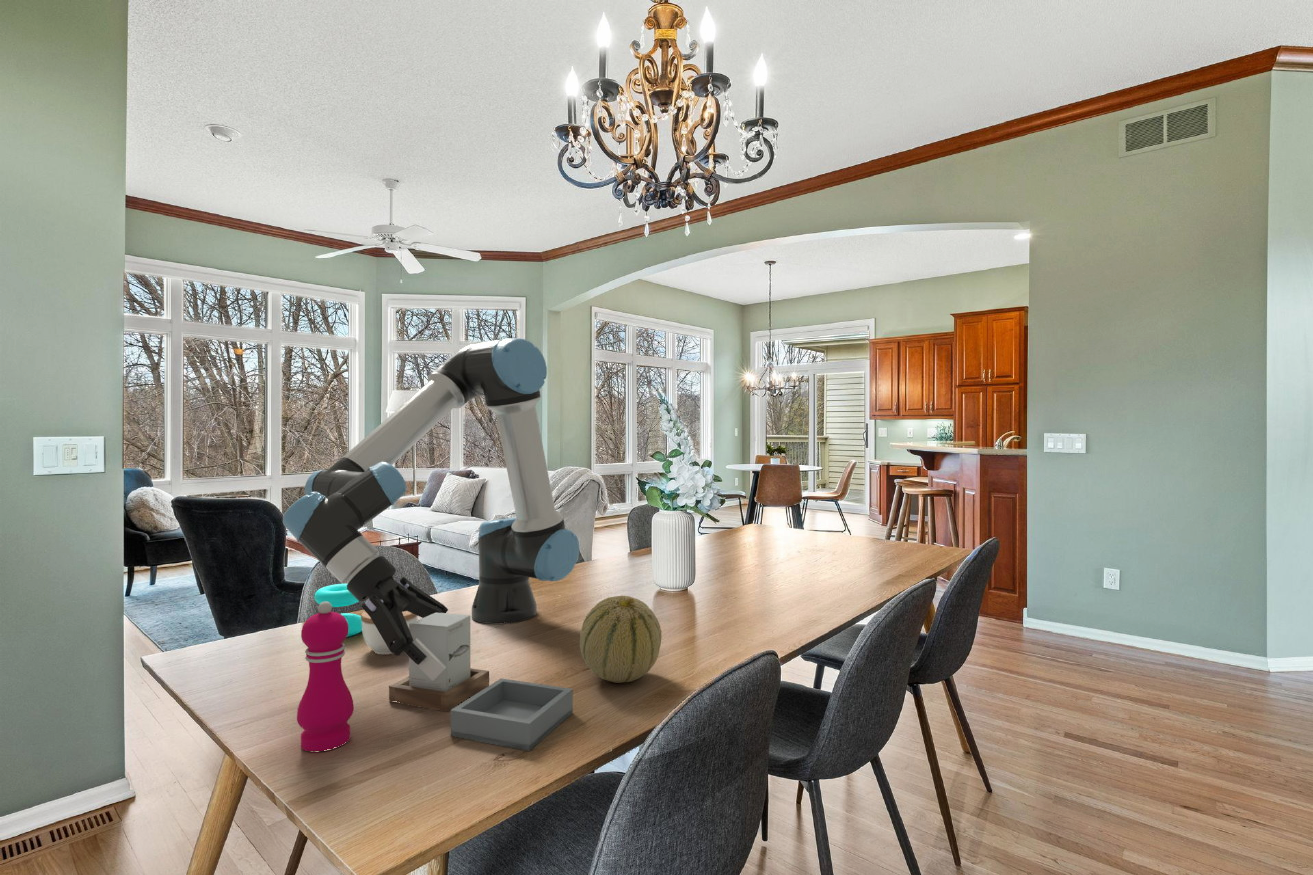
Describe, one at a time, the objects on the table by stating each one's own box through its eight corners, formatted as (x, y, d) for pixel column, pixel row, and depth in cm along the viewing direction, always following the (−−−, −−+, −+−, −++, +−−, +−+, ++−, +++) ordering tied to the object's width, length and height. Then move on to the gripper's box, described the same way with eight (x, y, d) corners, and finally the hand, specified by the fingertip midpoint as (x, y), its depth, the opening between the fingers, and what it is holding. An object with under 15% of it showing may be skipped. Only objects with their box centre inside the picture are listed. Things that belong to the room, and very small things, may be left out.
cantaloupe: (609, 659, 128) (609, 581, 127) (676, 673, 120) (676, 591, 120) (561, 685, 115) (561, 598, 115) (633, 702, 107) (632, 610, 107)
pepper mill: (310, 731, 97) (309, 595, 97) (361, 729, 98) (360, 594, 98) (287, 755, 90) (286, 609, 90) (342, 753, 91) (341, 607, 90)
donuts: (317, 584, 147) (366, 580, 151) (318, 628, 148) (366, 624, 151) (311, 594, 138) (363, 590, 141) (311, 642, 138) (363, 637, 142)
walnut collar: (434, 676, 119) (434, 662, 119) (489, 685, 115) (489, 670, 115) (389, 701, 108) (388, 686, 108) (447, 711, 104) (447, 695, 104)
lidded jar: (428, 648, 134) (427, 602, 134) (375, 662, 126) (375, 613, 126) (403, 637, 141) (402, 593, 141) (352, 649, 133) (351, 603, 133)
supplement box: (446, 704, 107) (446, 626, 107) (407, 699, 109) (407, 622, 109) (472, 687, 114) (471, 614, 114) (435, 682, 116) (434, 610, 116)
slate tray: (501, 701, 108) (501, 678, 108) (572, 712, 103) (572, 688, 103) (450, 736, 96) (450, 710, 96) (529, 750, 91) (529, 723, 91)
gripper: (378, 570, 124) (459, 650, 124) (308, 605, 99) (409, 705, 99) (406, 541, 124) (487, 621, 124) (343, 569, 99) (444, 670, 99)
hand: (453, 659), depth 111 cm, fingers open, 13 cm apart
